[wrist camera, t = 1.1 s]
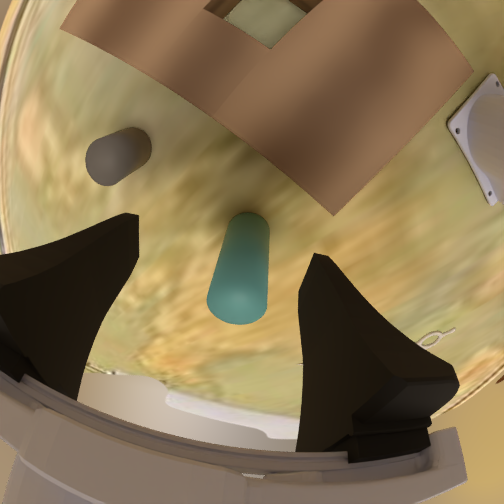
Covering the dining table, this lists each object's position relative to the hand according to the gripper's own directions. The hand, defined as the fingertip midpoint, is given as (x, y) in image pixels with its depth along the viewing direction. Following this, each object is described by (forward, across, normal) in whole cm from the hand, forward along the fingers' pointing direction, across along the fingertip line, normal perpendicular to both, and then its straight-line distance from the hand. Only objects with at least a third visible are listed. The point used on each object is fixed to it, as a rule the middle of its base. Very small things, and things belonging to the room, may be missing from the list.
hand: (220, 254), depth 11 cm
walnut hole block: (+10, +1, -12) cm, 15 cm away
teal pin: (+10, -1, +4) cm, 10 cm away
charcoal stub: (+10, +9, -1) cm, 13 cm away
